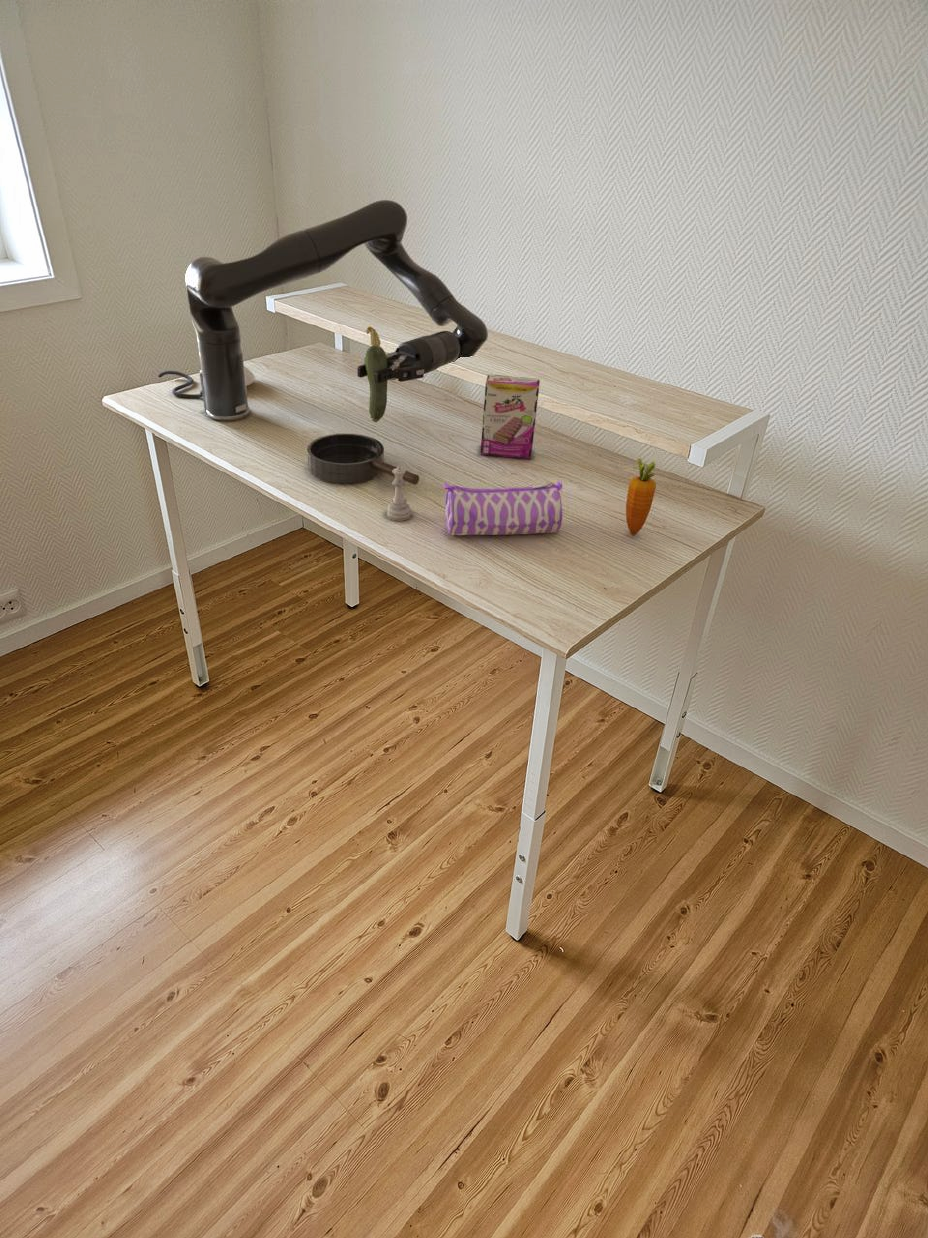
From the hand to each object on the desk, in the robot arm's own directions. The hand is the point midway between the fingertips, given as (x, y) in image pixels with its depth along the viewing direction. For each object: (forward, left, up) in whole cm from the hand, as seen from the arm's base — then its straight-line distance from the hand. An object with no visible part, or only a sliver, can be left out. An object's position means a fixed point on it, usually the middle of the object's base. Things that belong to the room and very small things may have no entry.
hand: (367, 375), depth 167 cm
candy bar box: (+22, +20, -17) cm, 34 cm away
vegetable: (0, +3, -11) cm, 12 cm away
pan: (+2, -9, -17) cm, 19 cm away
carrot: (+60, +6, -17) cm, 63 cm away
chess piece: (+23, -17, -17) cm, 33 cm away
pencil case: (+41, -9, -17) cm, 45 cm away
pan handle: (+15, -9, -14) cm, 23 cm away
